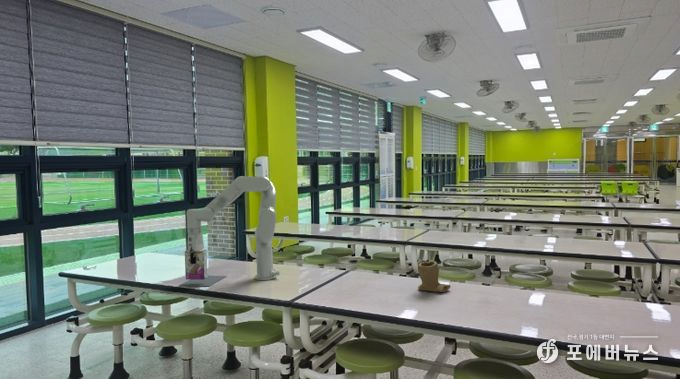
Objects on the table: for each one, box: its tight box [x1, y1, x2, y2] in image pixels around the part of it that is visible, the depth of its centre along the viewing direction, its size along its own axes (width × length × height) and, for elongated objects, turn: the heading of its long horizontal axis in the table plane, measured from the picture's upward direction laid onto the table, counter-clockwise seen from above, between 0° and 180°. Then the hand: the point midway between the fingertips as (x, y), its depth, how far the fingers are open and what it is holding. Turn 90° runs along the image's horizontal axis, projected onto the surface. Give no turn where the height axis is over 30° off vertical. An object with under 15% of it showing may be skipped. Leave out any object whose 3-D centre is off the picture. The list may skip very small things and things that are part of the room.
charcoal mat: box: [179, 275, 227, 288], centre depth 262 cm, size 18×22×1 cm
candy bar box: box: [184, 249, 209, 280], centre depth 255 cm, size 11×5×16 cm, turn 84°
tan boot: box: [417, 260, 451, 293], centre depth 228 cm, size 15×12×15 cm
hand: (196, 262), depth 255 cm, fingers closed on candy bar box, 5 cm apart
